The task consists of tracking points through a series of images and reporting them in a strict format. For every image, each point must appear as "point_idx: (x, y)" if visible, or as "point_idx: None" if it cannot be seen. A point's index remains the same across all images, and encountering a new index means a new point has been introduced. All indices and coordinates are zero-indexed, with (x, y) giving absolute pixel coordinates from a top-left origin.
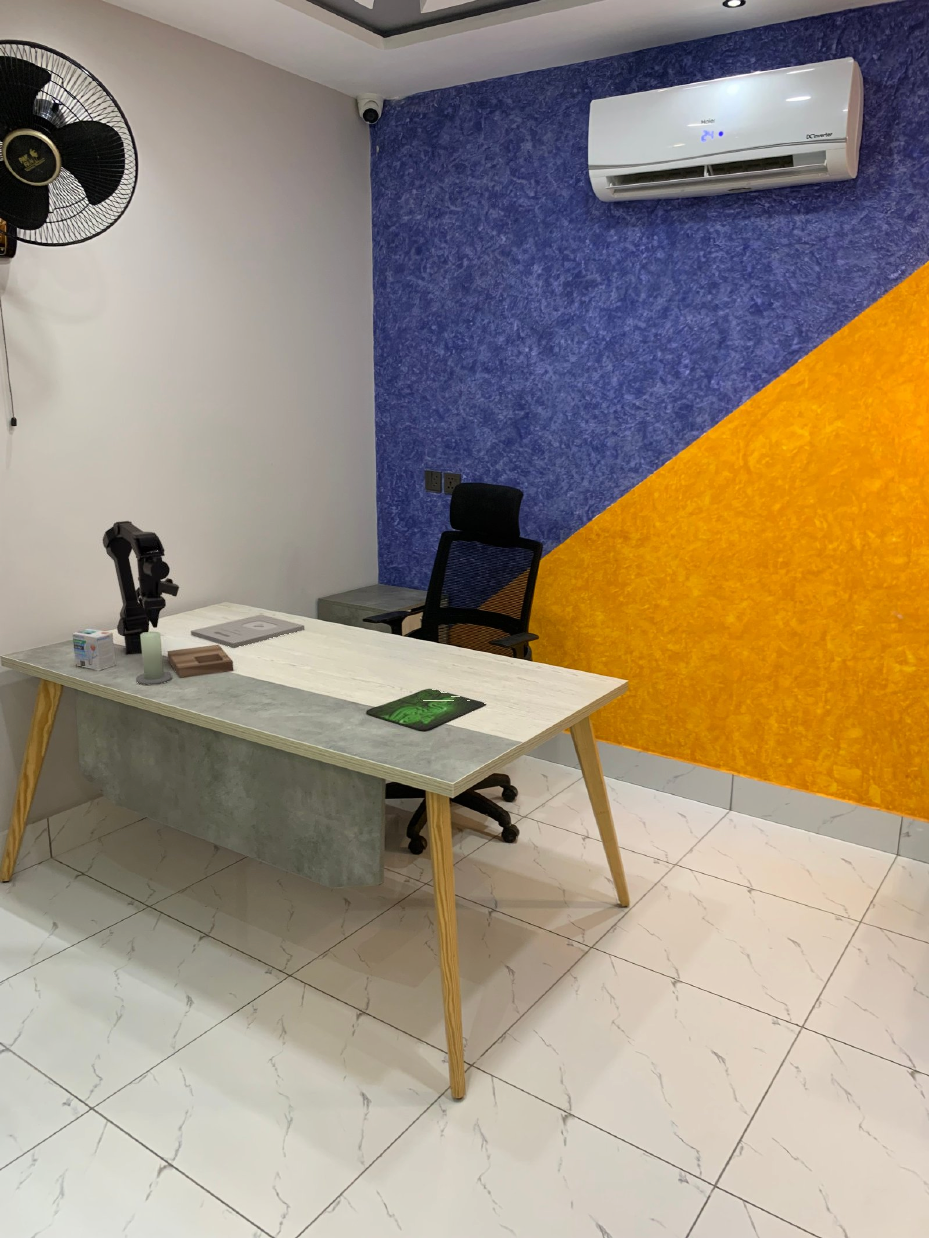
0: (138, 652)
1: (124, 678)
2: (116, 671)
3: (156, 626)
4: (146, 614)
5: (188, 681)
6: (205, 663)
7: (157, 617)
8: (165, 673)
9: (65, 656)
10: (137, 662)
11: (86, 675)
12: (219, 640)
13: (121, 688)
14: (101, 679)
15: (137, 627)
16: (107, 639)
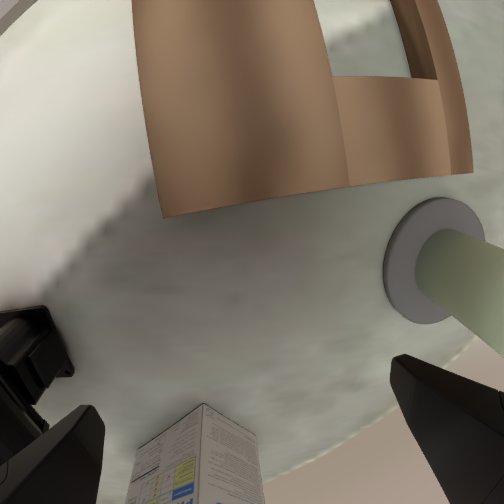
0: (57, 335)
1: (375, 359)
2: (281, 394)
3: (411, 361)
4: (95, 486)
5: (482, 145)
6: (441, 55)
7: (497, 402)
8: (427, 222)
9: None
10: (177, 339)
11: (291, 452)
12: (4, 18)
13: (456, 346)
14: (351, 415)
15: (11, 400)
16: (226, 501)
